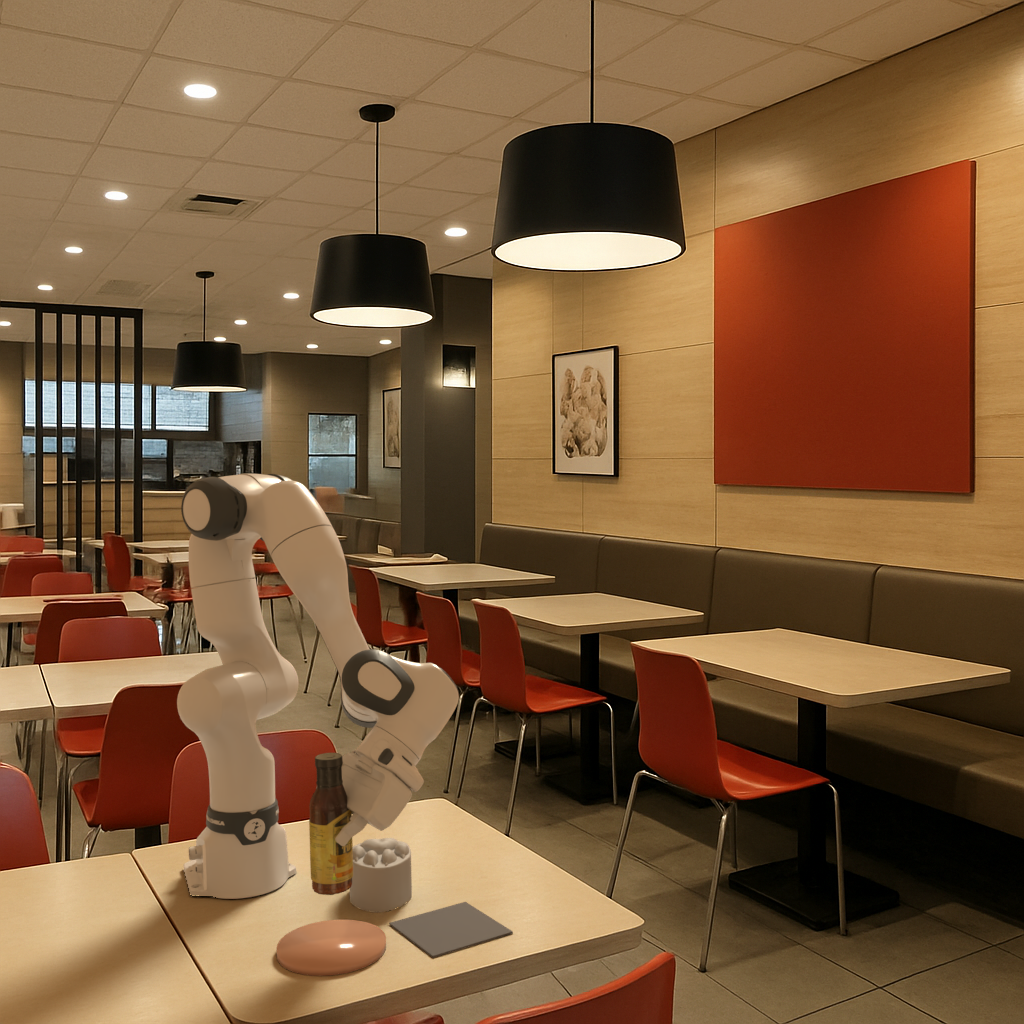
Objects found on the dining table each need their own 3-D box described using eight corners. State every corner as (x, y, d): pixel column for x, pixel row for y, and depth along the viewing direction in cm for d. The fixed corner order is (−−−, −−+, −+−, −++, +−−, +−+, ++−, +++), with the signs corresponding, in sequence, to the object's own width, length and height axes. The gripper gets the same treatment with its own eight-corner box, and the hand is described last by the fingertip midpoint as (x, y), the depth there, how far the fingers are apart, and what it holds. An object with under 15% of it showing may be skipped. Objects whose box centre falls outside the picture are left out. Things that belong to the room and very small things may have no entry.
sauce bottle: (344, 898, 145) (339, 764, 144) (304, 896, 147) (298, 762, 146) (360, 879, 152) (355, 750, 151) (321, 877, 153) (316, 749, 152)
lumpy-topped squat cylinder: (410, 880, 176) (409, 830, 176) (413, 910, 163) (412, 857, 163) (350, 884, 175) (349, 834, 175) (348, 914, 162) (347, 861, 162)
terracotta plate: (261, 944, 151) (260, 936, 151) (358, 918, 160) (358, 911, 160) (301, 986, 138) (301, 978, 138) (405, 955, 147) (404, 947, 147)
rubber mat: (389, 924, 158) (389, 922, 158) (465, 903, 165) (465, 901, 165) (433, 957, 146) (432, 955, 146) (512, 933, 154) (512, 931, 154)
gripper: (342, 734, 161) (286, 806, 156) (401, 760, 144) (340, 842, 139) (368, 757, 164) (314, 829, 158) (429, 785, 147) (370, 867, 141)
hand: (326, 836), depth 148 cm, fingers closed on sauce bottle, 6 cm apart
